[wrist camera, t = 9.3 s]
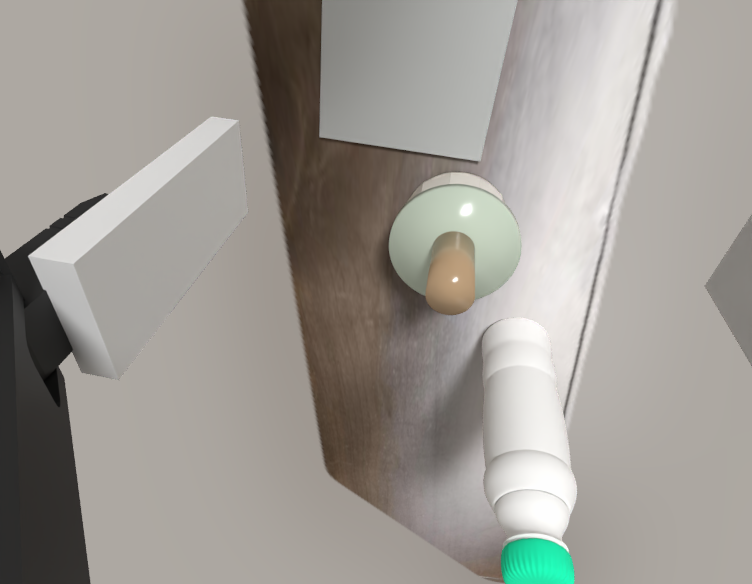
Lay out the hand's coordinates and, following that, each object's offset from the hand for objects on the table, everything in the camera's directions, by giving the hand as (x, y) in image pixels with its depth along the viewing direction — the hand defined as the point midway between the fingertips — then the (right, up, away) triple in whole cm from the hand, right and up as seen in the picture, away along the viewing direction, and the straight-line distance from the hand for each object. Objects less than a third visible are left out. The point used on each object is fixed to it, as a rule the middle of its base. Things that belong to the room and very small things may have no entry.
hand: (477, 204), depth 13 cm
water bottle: (+12, -7, +39) cm, 42 cm away
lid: (+4, +2, +29) cm, 29 cm away
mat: (0, +16, +25) cm, 29 cm away
